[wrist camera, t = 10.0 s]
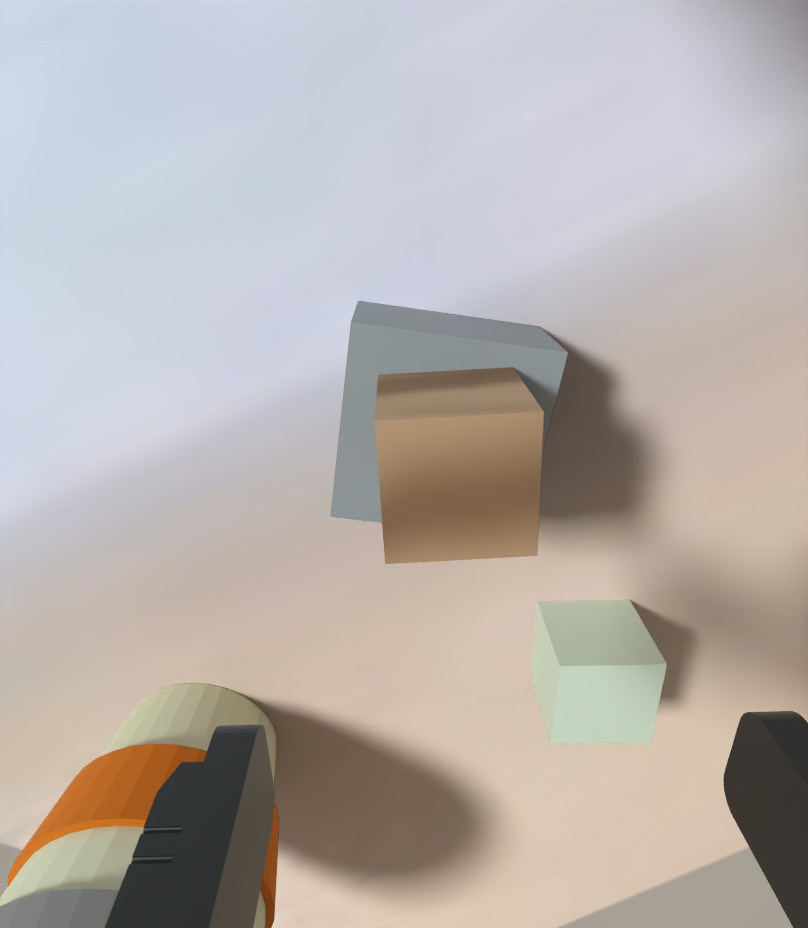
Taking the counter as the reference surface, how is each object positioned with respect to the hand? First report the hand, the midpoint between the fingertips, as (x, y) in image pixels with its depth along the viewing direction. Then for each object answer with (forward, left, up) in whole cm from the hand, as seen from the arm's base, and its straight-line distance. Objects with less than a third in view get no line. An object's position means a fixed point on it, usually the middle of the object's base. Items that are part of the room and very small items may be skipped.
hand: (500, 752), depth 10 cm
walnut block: (0, 0, -15) cm, 15 cm away
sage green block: (+14, +8, -19) cm, 25 cm away
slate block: (0, 0, -20) cm, 20 cm away
